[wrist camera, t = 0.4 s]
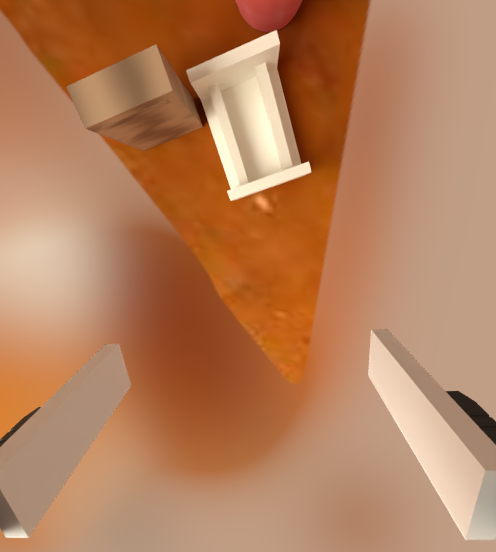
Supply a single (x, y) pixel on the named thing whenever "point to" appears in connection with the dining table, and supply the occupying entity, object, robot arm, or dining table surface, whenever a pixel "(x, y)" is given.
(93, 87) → the walnut panel
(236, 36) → the dining table surface
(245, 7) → the flower pot
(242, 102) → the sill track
